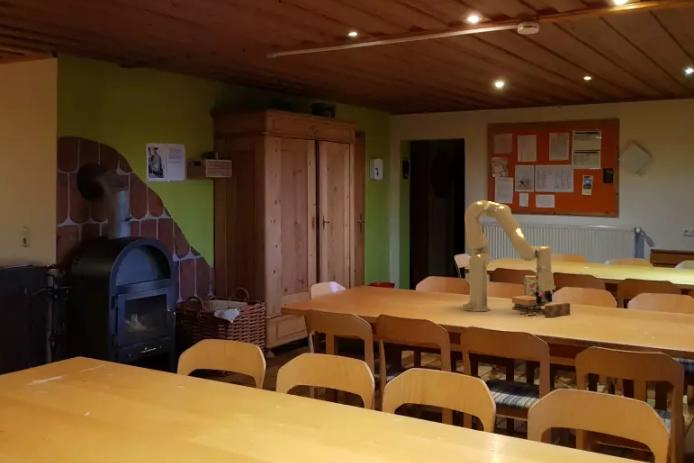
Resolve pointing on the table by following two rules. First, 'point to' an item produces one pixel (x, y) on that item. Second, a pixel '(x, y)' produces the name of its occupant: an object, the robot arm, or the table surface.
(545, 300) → the roller
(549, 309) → the rail
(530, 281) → the candy bar box
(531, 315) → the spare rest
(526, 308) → the roller track
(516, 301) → the slab
